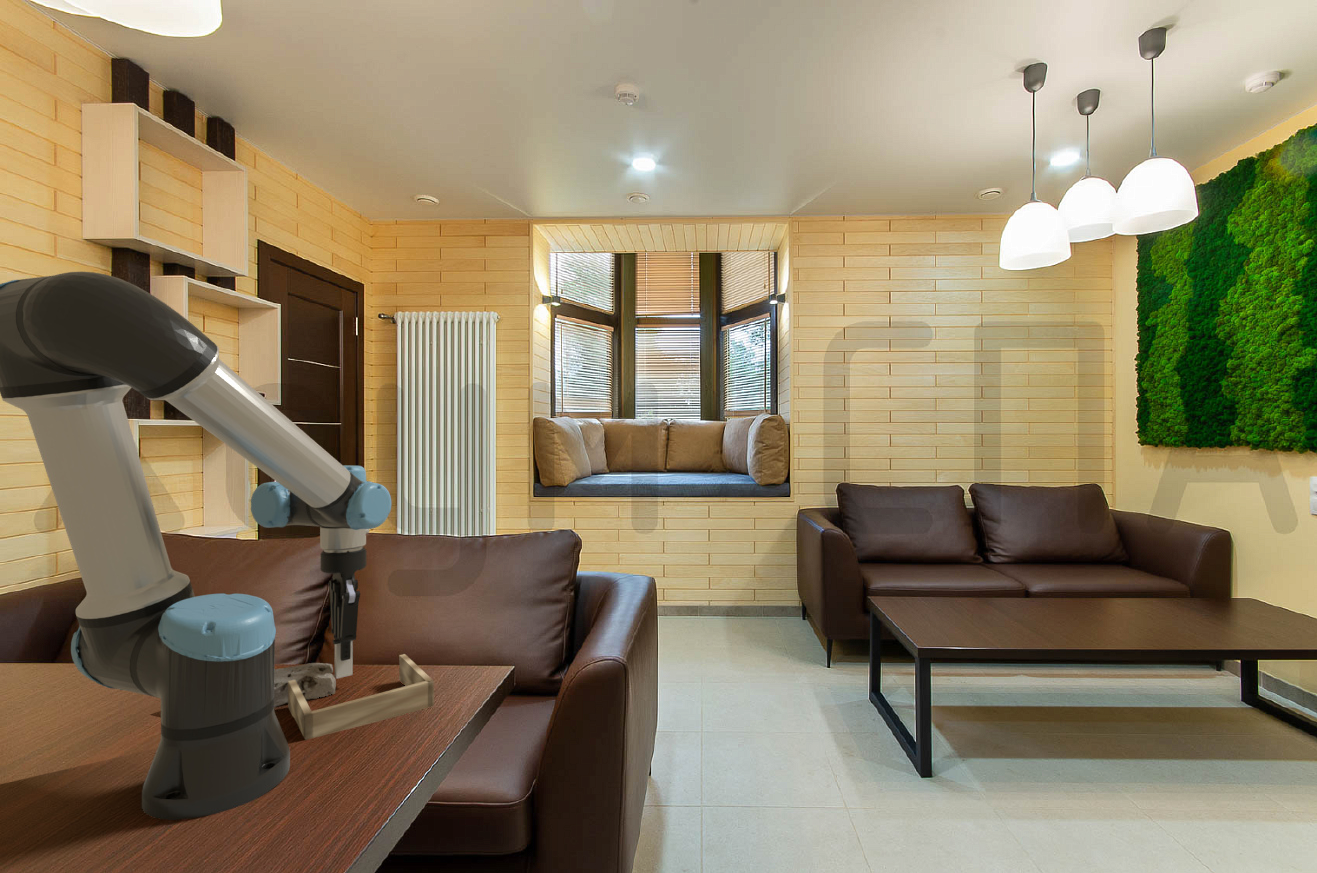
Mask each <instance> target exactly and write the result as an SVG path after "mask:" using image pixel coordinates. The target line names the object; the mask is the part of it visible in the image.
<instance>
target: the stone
mask: <svg viewBox="0 0 1317 873" xmlns="http://www.w3.org/2000/svg"><path fill="white" fill-rule="evenodd" d="M333 673H334V668H333V664H332V663H322V662H321V663H320V662H311V663H305V664H301V665H295V666H288V667H286V666H285V667H283V668H281V667H280V668H274V709H275V708H277V707H279V706H282V705H283V706H284V705H285V704H288V681H291V680H296V682H297V684H298V686H299V688H300V690H301V692H302V694H303V696H304V698H305V700H306V701H308V700H317V698H318V699H320V698H326V697H329V696H328V695H330V696H332V695H335V693H336V685H337V683H336V682H337V681H336V680H337V679H336V678H335V675H334V674H333ZM331 694H332V695H331ZM325 696H326V697H325ZM319 697H320V698H319Z"/></svg>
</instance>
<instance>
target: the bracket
mask: <svg viewBox="0 0 1317 873" xmlns="http://www.w3.org/2000/svg"><path fill="white" fill-rule="evenodd" d="M398 661H399V663H398V664H399V665H398V666H399V667H398V668H399V676H398V678H399V680H400V681H401V682H402V683H403V684H404V685H405V686H401V687H397V688H393V689H390V690H386V691H383V692H379V693H378V692H377V693H375V694H370V695H367V696H363V697H360V698H356V699H353V700H349V701H345V702H341V703H337V704H333V705H330V706H326V707H323V708H319V709H314V710H312V709H311V707H310V706H309V703H308V701H307V699H305V698H304V696H303V694H302V692H301V690H300V688H299V686H298V684H297V682H296V680H291V681H288V703H287V704H288V705H287V707H288V710H289V713H290V714H291V717H293V718H294V720H295V722H296V724H297V727H298V729H299V730H300V732H301V735H302V737H303V738H304V739H303V740H305V741H307V740H311V739H315V738H320V737H323V736H326V735H330V734H334V733H338V732H342V731H347V730H351V729H354V728H359V727H361V726H362V727H363V726H366V725H369V724H373V723H377V722H382V721H385V720H389V719H393V718H397V717H402V716H405V715H407V714H406V713H409V714H412V713H411V712H413V713H416V712H415V711H417V712H419V711H418V710H421V709H424V708H428V707H431V706H434V707H435V681H434V679H432V677H431V676H429V675H428V674H427V673H426V672H425V671H424V670H423V669H422V668H421V667H420V666H418V665H417V664H416V663H415V662H414V660H412V659H411V658H410V657H409V656H408V655H407V654H405V653H403V654H399V659H398ZM421 711H422V710H421ZM404 714H405V715H404Z"/></svg>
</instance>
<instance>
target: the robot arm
mask: <svg viewBox="0 0 1317 873" xmlns="http://www.w3.org/2000/svg"><path fill="white" fill-rule="evenodd" d="M131 389H133V390H135V391H136V392H138V393H139V394H140V395H142V396H143V397H145V398H146V399H148V400H150V401H166V402H168V404H170V405H171V406H173V407H174V408H176V410H178V411H179V412H181V413H182V414H184V415H185V416H186V417H187V418H189V419H191V420H192V421H193V422H195V423H196V424H197V425H199V426H200V427H202V428H203V429H204V430H206V431H207V432H208V433H210V434H211V435H212V436H214V437H215V438H217V439H218V440H220V441H221V442H222V443H223V444H224V445H226V446H227V447H229V448H230V449H232V450H233V451H235V453H237V454H238V455H240V456H241V457H242V458H244V459H246V460H247V461H248V462H250V463H251V464H252V465H254V466H255V467H257V469H259V470H261V472H263V473H264V474H266V475H267V476H268V477H270V478H271V479H273V480H274V481H269V482H263V483H260V485H259V486H257V487H256V488H255V489H254V491H253V492H252V495H251V498H250V512H251V515H252V517H253V519H254V521H255V522H256V523H257V524H258V525H260V526H261V527H263V528H266V529H267V528H268V529H269V528H285V527H286V526H307V527H309V526H310V527H319V529H320V530H319V531H320V532H319V534H320V535H319V537H320V538H319V539H320V540H319V541H320V545H319V546H320V547H319V548H320V549H321V550H323V551H321V552H320V571H321V572H323V573H325V574H330V575H331V574H332V579H331V580H329V581H328V583H327V585H328V589H329V598H330V600H329V602H330V621H331V622H330V623H331V634H332V635H333V639H332V644H333V645H334V677H335V679H336V680H337V679H342V678H344V677H349V676H353V672H354V671H353V670H354V669H353V666H354V664H353V663H354V662H353V658H354V656H353V654H354V653H353V652H354V650H353V649H354V647H353V646H354V645H353V644H354V643H353V642H354V641H355V640H357V629H358V617H359V616H358V615H359V614H358V613H359V602H360V599H361V598H360V597H361V592H360V590H358V588H359V582H358V581H359V580H358V579H356V576H355V573H356V572H357V571H361V570H363V569H365V568H366V567H367V549H366V548H365V547H364V546H366V545H367V534H369V533H370V530H372V529H376V528H378V527H380V526H381V525H383V524H384V523H385V522H386V520H387V518H389V515H390V513H391V510H392V497H391V494H390V491H389V490H388V488H386V487H385V486H384V485H383V484H380V483H377V482H372V481H370V480H369V481H367V472H366V469H365V467H363V466H361V465H351V464H350V465H346V464H345V465H343V464H342V463H341V462H339V461H338V460H337V459H336V458H335V457H333V455H331V454H330V453H329V452H328V451H326V449H324V448H323V447H322V446H321V445H319V444H318V443H317V442H316V441H315V440H314V439H313V438H311V437H310V436H309V435H308V434H307V433H306V432H305V431H304V430H302V428H300V427H299V426H297V424H295V422H293V421H292V420H291V419H289V417H287V416H286V415H285V414H284V413H282V411H280V410H279V409H278V408H277V407H276V406H274V405H273V404H272V403H271V402H270V401H268V399H266V398H265V397H264V396H263V395H262V394H260V393H259V392H258V391H257V390H256V389H255V388H254V387H252V386H251V385H250V384H249V383H248V382H246V380H244V379H243V378H242V377H241V376H240V375H239V374H238V373H236V372H235V371H234V370H233V369H232V368H230V367H229V366H228V365H227V364H226V363H224V362H223V361H222V360H221V359H220V348H219V345H217V344H216V343H215V342H214V341H213V340H211V339H210V338H209V337H208V336H207V335H206V334H205V333H204V332H202V331H201V330H200V329H199V328H198V327H197V326H195V325H194V324H193V323H192V322H191V321H189V320H188V319H186V317H184V316H183V315H181V313H179V312H178V311H176V310H175V309H174V308H173V307H171V306H169V305H168V304H167V303H165V302H163V301H162V300H161V299H159V298H157V297H156V296H155V295H153V294H152V293H149V292H148V291H146V290H144V288H143V289H142V288H141V287H139V286H137V285H135V284H133V283H130V282H128V281H126V280H124V279H121V278H120V277H116V276H112V275H110V274H106V273H105V274H104V273H99V272H94V271H92V272H91V271H70V272H63V273H59V274H54V275H46V276H37V277H30V278H29V277H28V278H23V279H12V280H9V281H6V282H1V283H0V397H1V399H2V402H4V403H7V404H10V405H11V406H14V407H16V408H18V409H20V410H22V411H23V412H25V414H26V416H27V419H28V421H29V424H30V427H31V430H32V433H33V436H34V439H35V442H36V445H37V448H38V451H39V454H40V457H41V460H42V462H43V466H44V469H45V472H46V474H47V478H48V481H49V483H50V484H49V485H50V486H51V490H52V493H53V495H54V499H55V502H56V505H57V509H58V511H59V514H60V517H61V521H62V523H63V525H64V528H65V532H66V535H67V538H68V541H69V543H70V547H71V550H72V553H73V556H74V558H75V562H76V565H77V567H78V570H79V573H80V576H81V580H82V583H83V585H84V589H85V591H86V595H85V597H84V598H83V600H82V601H81V602H80V603H79V605H77V607H76V608H75V615H76V616H75V617H76V619H77V622H78V624H79V625H78V626H79V627H78V628H77V630H76V631H75V632H74V633H73V634H72V638H71V642H70V654H71V658H72V662H73V663H74V666H75V667H76V669H77V670H78V671H79V673H80V674H82V675H83V676H84V677H85V678H87V679H89V680H90V681H93V682H95V683H96V684H98V685H101V686H102V687H106V688H108V689H113V690H115V689H116V690H120V691H126V692H131V693H134V694H135V693H136V694H138V695H139V694H140V695H145V696H149V697H153V698H159V699H160V741H159V743H158V746H157V749H156V752H155V754H154V756H153V759H152V761H151V764H150V767H149V770H148V772H147V775H146V777H145V780H144V783H143V785H142V790H141V809H143V810H142V812H143V811H144V812H145V813H146V815H147V814H148V815H150V816H152V817H151V818H153V817H155V818H154V819H157V818H158V820H164V819H166V821H169V820H170V821H177V820H178V821H179V820H180V821H181V820H188V819H189V820H191V819H197V818H202V817H207V816H211V815H215V814H216V815H217V814H220V813H222V812H223V813H224V812H225V811H226V812H227V811H230V810H232V809H236V808H239V807H241V806H243V805H246V804H248V803H251V802H252V801H254V800H256V799H258V798H261V797H262V796H264V795H265V794H267V793H268V792H270V791H271V790H272V789H274V788H275V787H276V786H278V785H279V784H280V783H281V782H282V781H283V780H284V779H285V778H286V777H287V775H288V773H289V771H290V767H291V750H290V747H289V746H290V745H289V744H288V740H287V739H286V736H285V734H284V731H283V730H282V727H281V725H280V722H279V720H278V718H277V715H276V713H275V708H274V669H275V662H276V661H275V659H276V658H275V657H276V656H275V654H276V653H275V651H276V650H275V648H276V646H275V644H276V642H275V641H276V635H277V634H276V633H277V629H276V626H275V625H276V624H275V619H274V618H275V617H274V612H273V611H274V610H273V608H272V606H271V605H270V603H269V602H268V601H266V600H265V599H263V598H261V597H259V596H255V595H250V594H245V593H231V594H226V593H211V594H204V595H198V596H195V593H194V589H193V586H192V583H191V580H190V577H189V575H188V574H185V573H183V572H179V571H176V570H174V569H173V567H172V566H171V562H170V559H169V555H168V552H167V548H166V545H165V542H164V539H163V534H162V531H161V527H160V525H159V520H158V517H157V514H156V511H155V508H154V504H153V501H152V497H151V494H150V490H149V487H148V483H147V481H146V480H147V479H146V476H145V472H144V470H143V467H142V463H141V459H140V456H139V454H138V453H139V452H138V450H137V447H136V442H135V439H134V436H133V432H132V430H131V424H130V421H129V418H128V416H127V412H126V409H125V405H124V401H123V400H124V397H125V396H126V395H127V394H128V392H129V391H130V390H131ZM144 812H143V813H144ZM145 813H144V814H145ZM148 815H147V816H148ZM150 816H149V817H150ZM159 818H160V819H159Z"/></svg>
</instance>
